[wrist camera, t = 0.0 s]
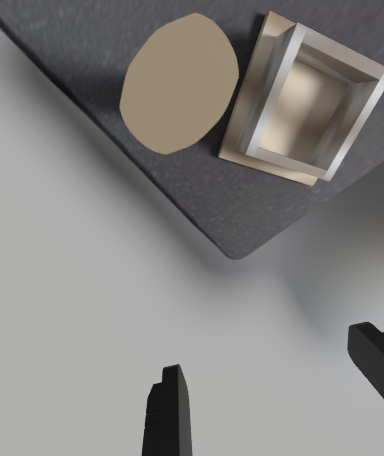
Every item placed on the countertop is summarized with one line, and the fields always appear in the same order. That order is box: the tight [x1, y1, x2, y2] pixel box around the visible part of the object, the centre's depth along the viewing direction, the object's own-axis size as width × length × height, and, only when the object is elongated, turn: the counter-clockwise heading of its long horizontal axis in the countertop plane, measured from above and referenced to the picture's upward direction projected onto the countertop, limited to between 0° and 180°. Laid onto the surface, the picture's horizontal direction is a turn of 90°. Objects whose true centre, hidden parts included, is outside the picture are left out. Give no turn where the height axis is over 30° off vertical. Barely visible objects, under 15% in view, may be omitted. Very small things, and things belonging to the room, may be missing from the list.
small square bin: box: [218, 11, 384, 186], centre depth 24 cm, size 14×14×5 cm
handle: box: [119, 13, 239, 154], centre depth 18 cm, size 5×6×15 cm
